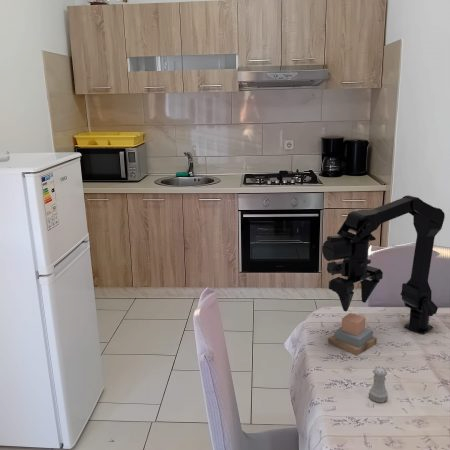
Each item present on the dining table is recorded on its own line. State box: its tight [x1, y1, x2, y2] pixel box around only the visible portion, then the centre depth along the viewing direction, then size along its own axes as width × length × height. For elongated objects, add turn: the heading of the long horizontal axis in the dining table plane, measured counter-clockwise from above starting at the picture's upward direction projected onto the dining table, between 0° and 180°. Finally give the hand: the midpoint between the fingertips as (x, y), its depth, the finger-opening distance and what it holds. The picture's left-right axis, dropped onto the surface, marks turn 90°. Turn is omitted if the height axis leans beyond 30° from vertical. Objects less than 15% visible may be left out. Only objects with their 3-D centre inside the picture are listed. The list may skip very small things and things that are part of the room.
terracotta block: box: [341, 312, 367, 336], centre depth 139 cm, size 5×5×4 cm
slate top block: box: [334, 326, 374, 348], centre depth 140 cm, size 8×8×2 cm
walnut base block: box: [328, 334, 378, 357], centre depth 140 cm, size 10×10×2 cm
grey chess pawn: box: [368, 365, 389, 404], centre depth 114 cm, size 4×4×8 cm
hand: (354, 306), depth 138 cm, fingers open, 9 cm apart
